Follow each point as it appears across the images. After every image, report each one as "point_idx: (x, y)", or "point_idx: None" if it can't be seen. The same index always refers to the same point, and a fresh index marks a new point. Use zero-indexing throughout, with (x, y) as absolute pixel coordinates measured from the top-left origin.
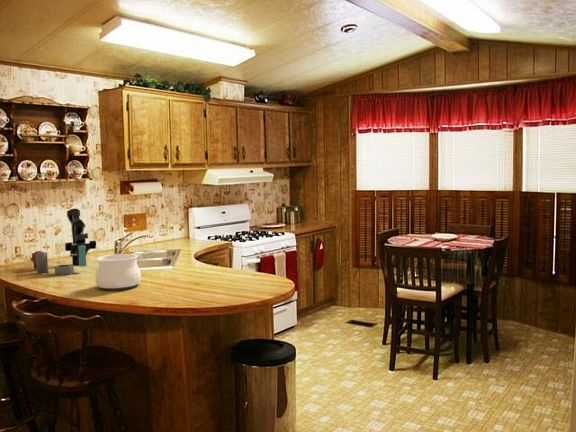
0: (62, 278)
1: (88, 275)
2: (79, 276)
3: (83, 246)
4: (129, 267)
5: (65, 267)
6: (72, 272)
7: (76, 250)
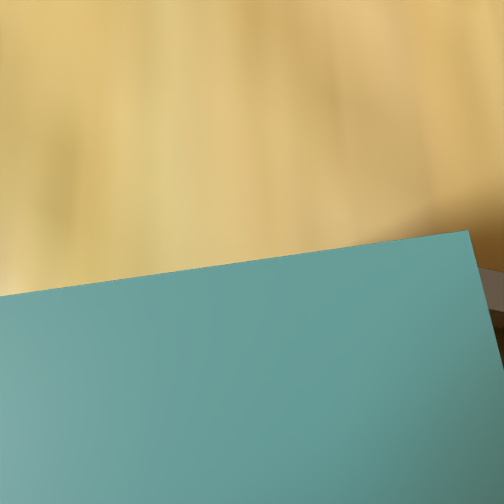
0: (436, 83)
1: (168, 128)
2: (266, 114)
3: (17, 300)
4: None
5: (490, 271)
6: None
7: None
